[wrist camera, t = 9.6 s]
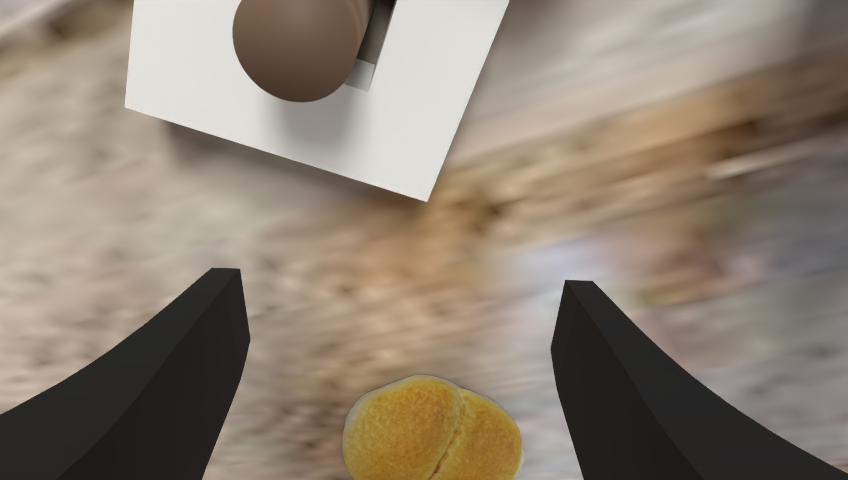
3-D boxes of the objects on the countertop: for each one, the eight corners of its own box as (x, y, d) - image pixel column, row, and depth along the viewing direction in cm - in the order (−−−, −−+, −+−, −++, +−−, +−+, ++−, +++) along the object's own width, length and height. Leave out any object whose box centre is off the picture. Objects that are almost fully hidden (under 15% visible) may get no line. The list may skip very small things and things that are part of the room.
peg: (393, -22, 19) (379, 27, 13) (348, 50, 20) (318, 123, 14) (318, -78, 18) (267, -52, 12) (275, 0, 20) (211, 58, 14)
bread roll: (385, 346, 28) (380, 411, 25) (541, 407, 30) (556, 475, 27) (317, 447, 32) (305, 515, 29) (460, 495, 34) (464, 564, 31)
